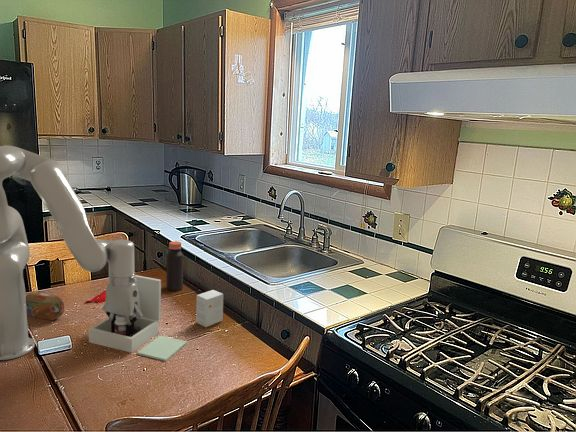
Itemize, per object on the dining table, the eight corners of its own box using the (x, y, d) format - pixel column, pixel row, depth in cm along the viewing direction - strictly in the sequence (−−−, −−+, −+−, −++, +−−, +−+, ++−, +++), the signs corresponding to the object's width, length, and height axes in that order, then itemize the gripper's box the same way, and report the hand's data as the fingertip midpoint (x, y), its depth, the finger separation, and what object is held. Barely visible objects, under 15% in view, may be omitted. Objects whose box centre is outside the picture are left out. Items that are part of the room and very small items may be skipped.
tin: (22, 315, 153) (21, 292, 152) (30, 311, 156) (28, 289, 155) (59, 322, 150) (58, 299, 148) (66, 318, 153) (65, 295, 151)
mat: (166, 361, 130) (166, 359, 130) (137, 354, 133) (137, 352, 133) (187, 343, 141) (187, 341, 141) (160, 337, 144) (160, 335, 144)
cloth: (141, 284, 189) (141, 279, 189) (153, 295, 179) (153, 290, 178) (76, 296, 174) (76, 290, 173) (85, 308, 163) (85, 303, 163)
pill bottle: (114, 336, 143) (114, 312, 141) (130, 334, 145) (130, 311, 143) (114, 343, 139) (114, 318, 137) (130, 341, 140) (130, 317, 139)
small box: (212, 316, 162) (213, 289, 160) (223, 320, 159) (223, 293, 157) (195, 322, 156) (196, 294, 154) (205, 327, 153) (206, 299, 151)
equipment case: (131, 352, 134) (131, 295, 130) (88, 342, 138) (87, 286, 135) (160, 331, 148) (160, 279, 144) (120, 322, 153) (120, 272, 149)
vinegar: (178, 284, 191) (179, 240, 187) (185, 289, 186) (186, 243, 182) (163, 287, 187) (163, 241, 183) (170, 292, 182) (171, 245, 178)
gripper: (152, 280, 139) (152, 333, 142) (107, 271, 143) (108, 323, 147) (137, 287, 132) (137, 343, 135) (90, 278, 136) (92, 332, 140)
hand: (122, 332), depth 141 cm, fingers closed on pill bottle, 4 cm apart
